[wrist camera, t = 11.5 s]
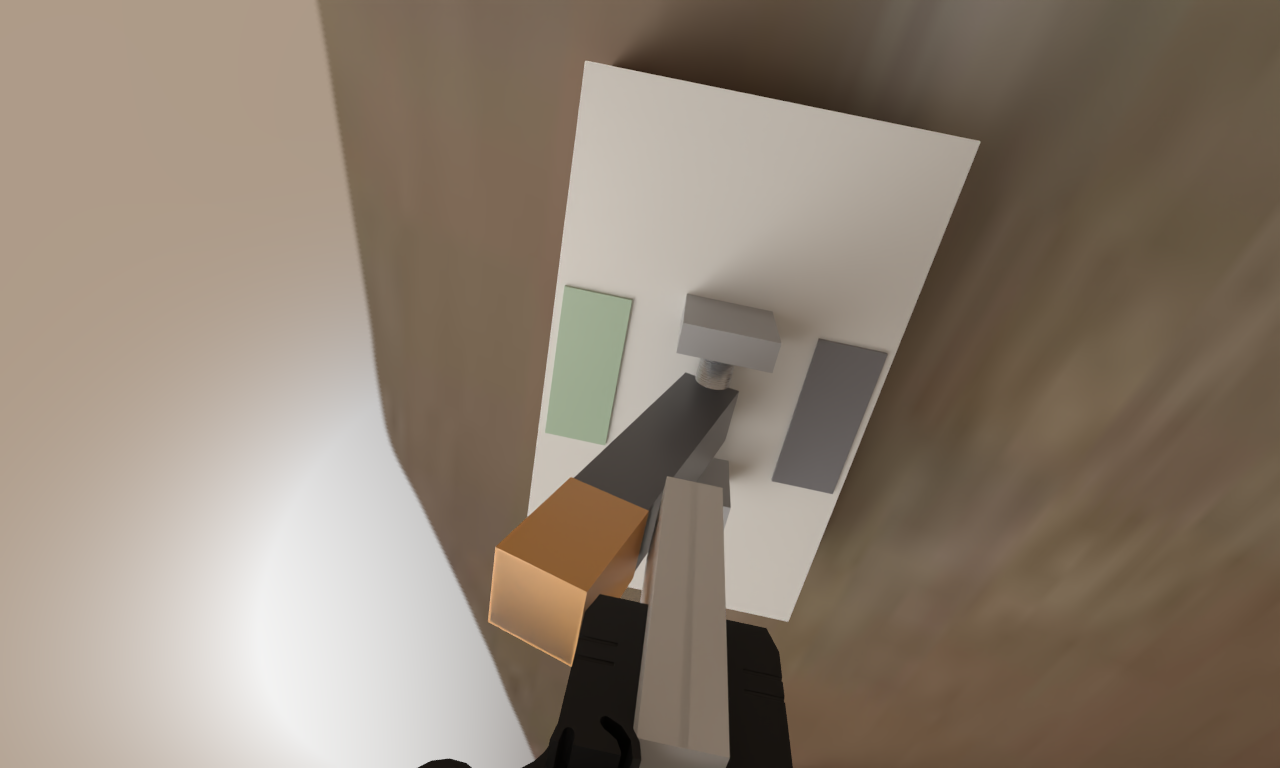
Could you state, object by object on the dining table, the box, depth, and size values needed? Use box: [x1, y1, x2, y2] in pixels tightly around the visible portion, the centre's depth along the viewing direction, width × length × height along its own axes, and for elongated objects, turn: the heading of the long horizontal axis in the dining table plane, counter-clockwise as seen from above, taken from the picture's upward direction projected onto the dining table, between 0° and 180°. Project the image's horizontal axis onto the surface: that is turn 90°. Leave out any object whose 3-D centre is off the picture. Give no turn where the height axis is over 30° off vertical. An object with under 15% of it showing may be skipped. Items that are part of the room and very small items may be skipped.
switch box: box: [527, 61, 981, 622], centre depth 24 cm, size 20×12×8 cm, turn 169°
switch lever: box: [488, 358, 739, 667], centre depth 17 cm, size 4×2×12 cm, turn 169°
